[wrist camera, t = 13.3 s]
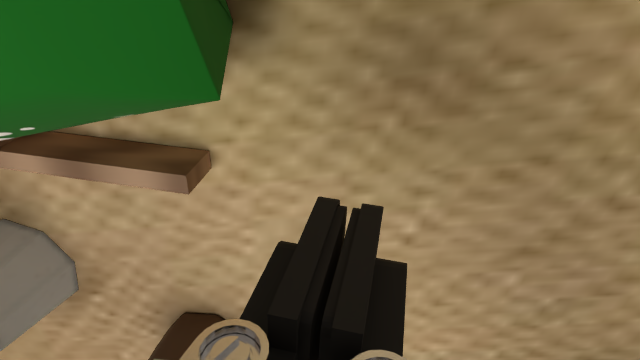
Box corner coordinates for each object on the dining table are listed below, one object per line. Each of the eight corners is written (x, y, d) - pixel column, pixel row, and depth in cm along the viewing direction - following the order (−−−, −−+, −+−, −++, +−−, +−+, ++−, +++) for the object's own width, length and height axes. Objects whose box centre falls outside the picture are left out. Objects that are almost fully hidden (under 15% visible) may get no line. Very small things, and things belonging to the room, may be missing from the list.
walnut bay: (170, -151, 17) (128, -166, 14) (211, 168, 25) (188, 194, 22) (-93, -153, 19) (-171, -166, 16) (25, 144, 27) (-15, 165, 24)
